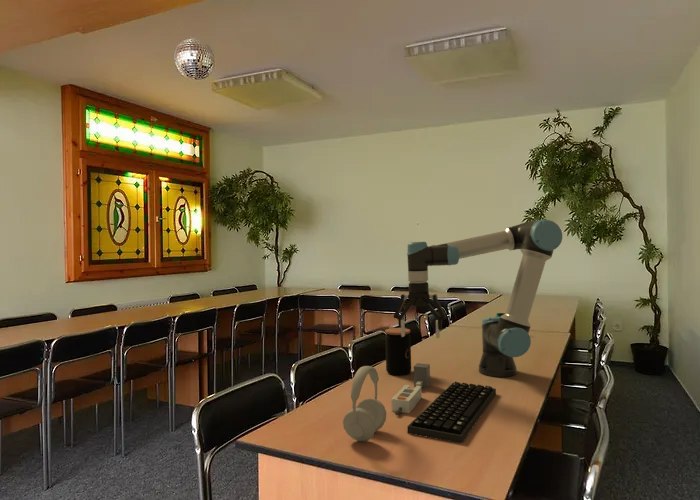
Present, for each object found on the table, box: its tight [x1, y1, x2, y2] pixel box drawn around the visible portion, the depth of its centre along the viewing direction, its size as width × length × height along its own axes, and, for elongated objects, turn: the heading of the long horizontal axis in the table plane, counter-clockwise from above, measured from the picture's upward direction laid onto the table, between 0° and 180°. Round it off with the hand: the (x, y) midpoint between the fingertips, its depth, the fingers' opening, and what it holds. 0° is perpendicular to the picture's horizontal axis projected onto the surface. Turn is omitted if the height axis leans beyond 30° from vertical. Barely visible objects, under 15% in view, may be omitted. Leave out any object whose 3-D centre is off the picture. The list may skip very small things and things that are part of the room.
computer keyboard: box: [406, 381, 497, 444], centre depth 152 cm, size 45×16×4 cm, turn 151°
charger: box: [413, 362, 431, 389], centre depth 178 cm, size 5×9×8 cm, turn 157°
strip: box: [390, 384, 423, 416], centre depth 158 cm, size 6×20×5 cm, turn 157°
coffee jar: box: [384, 327, 412, 376], centre depth 199 cm, size 11×11×18 cm
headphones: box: [342, 365, 387, 442], centre depth 135 cm, size 19×9×20 cm, turn 157°
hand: (420, 337), depth 180 cm, fingers open, 13 cm apart
